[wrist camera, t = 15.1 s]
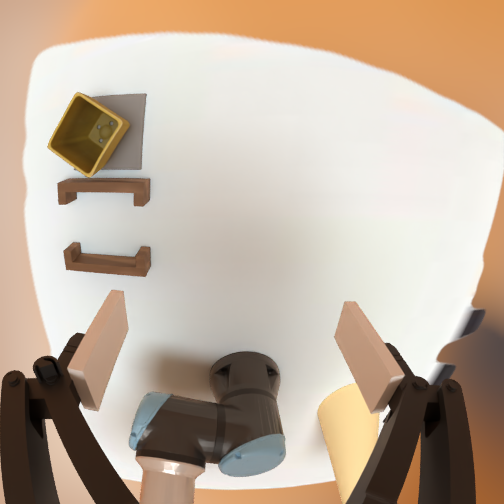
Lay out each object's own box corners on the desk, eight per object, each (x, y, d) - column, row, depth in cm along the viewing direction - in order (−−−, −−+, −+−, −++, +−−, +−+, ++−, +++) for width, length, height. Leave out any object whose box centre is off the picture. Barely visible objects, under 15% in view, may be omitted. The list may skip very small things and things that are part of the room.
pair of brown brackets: (150, 266, 49) (145, 276, 46) (75, 260, 47) (66, 269, 44) (150, 178, 44) (143, 182, 40) (68, 178, 42) (57, 183, 38)
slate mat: (141, 169, 43) (140, 169, 42) (75, 169, 41) (74, 170, 41) (146, 94, 38) (145, 93, 38) (79, 99, 37) (77, 98, 36)
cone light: (338, 379, 65) (388, 504, 32) (392, 382, 68) (446, 483, 36) (296, 434, 73) (321, 539, 41) (347, 434, 77) (379, 525, 44)
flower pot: (112, 170, 42) (89, 179, 33) (74, 142, 39) (45, 147, 31) (142, 123, 40) (123, 121, 31) (102, 96, 37) (76, 90, 29)
